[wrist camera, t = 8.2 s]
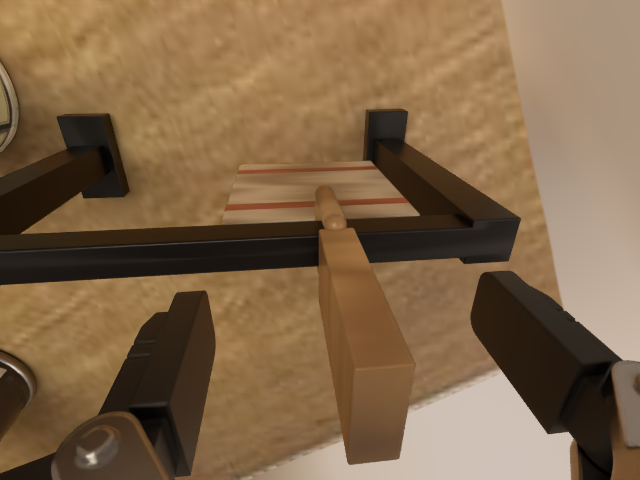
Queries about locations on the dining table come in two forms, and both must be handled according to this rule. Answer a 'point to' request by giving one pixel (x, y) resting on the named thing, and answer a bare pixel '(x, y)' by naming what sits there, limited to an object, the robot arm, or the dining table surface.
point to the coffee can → (7, 109)
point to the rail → (239, 239)
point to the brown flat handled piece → (343, 289)
